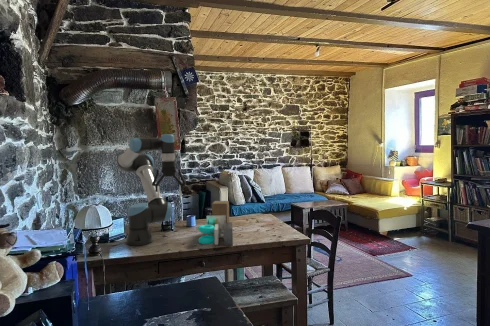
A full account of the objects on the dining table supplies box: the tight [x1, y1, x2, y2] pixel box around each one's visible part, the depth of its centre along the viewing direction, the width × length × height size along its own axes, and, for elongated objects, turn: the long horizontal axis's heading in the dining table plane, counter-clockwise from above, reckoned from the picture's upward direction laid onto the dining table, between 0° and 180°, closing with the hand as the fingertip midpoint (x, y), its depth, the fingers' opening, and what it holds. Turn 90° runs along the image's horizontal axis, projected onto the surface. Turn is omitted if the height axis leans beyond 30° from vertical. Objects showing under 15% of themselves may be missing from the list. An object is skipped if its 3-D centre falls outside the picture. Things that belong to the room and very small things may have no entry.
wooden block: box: [211, 200, 230, 222], centre depth 231 cm, size 10×10×20 cm
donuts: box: [197, 224, 215, 245], centre depth 208 cm, size 10×10×10 cm
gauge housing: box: [206, 215, 234, 247], centre depth 210 cm, size 16×18×14 cm
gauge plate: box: [214, 219, 220, 246], centre depth 209 cm, size 2×15×12 cm, turn 2°
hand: (169, 197), depth 203 cm, fingers open, 12 cm apart
